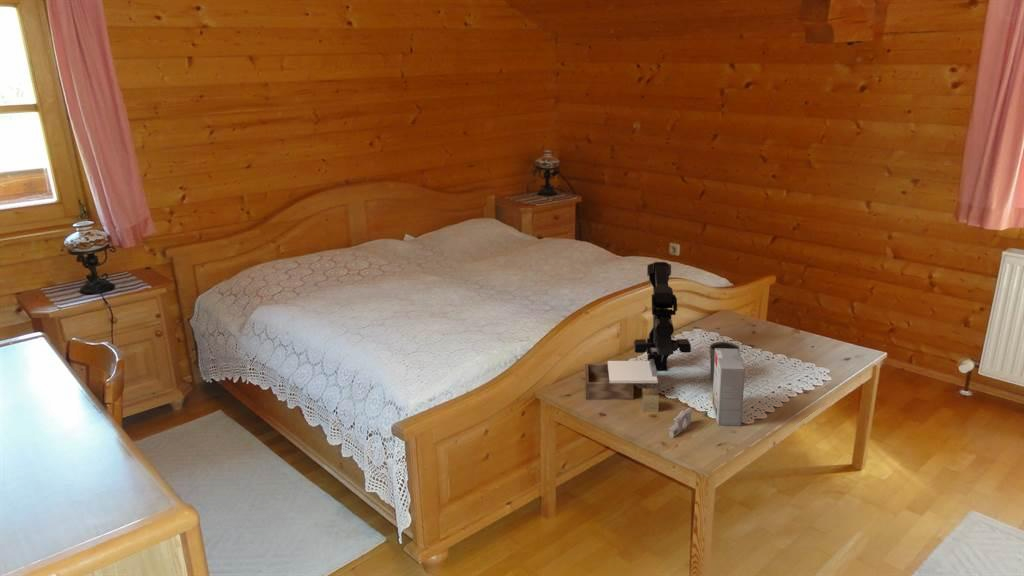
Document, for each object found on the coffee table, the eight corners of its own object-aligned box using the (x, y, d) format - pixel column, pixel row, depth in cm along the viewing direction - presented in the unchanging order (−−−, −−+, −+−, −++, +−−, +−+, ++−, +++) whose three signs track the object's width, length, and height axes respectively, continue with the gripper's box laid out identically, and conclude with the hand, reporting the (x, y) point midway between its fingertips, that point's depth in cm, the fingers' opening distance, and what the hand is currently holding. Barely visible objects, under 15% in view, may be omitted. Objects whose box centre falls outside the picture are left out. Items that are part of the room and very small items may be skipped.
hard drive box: (711, 402, 238) (714, 347, 231) (735, 403, 236) (739, 348, 230) (716, 425, 223) (720, 367, 217) (742, 426, 222) (746, 368, 216)
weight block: (656, 404, 238) (657, 388, 236) (658, 411, 233) (658, 395, 231) (641, 404, 238) (641, 388, 236) (642, 411, 234) (643, 395, 232)
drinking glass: (711, 384, 250) (713, 353, 246) (705, 372, 260) (706, 341, 256) (740, 383, 250) (743, 352, 246) (733, 371, 259) (735, 341, 256)
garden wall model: (673, 438, 217) (673, 421, 215) (668, 437, 218) (668, 419, 216) (692, 423, 225) (692, 406, 224) (687, 421, 227) (687, 405, 225)
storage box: (629, 378, 257) (630, 363, 255) (633, 399, 242) (633, 383, 240) (585, 378, 258) (585, 363, 257) (585, 399, 243) (585, 383, 241)
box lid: (652, 363, 254) (652, 355, 253) (657, 383, 239) (657, 375, 238) (607, 363, 256) (607, 355, 255) (609, 383, 241) (609, 375, 240)
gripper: (636, 335, 234) (636, 378, 239) (694, 335, 233) (692, 378, 238) (633, 323, 245) (633, 365, 250) (689, 322, 243) (687, 364, 248)
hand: (661, 368), depth 246 cm, fingers closed
